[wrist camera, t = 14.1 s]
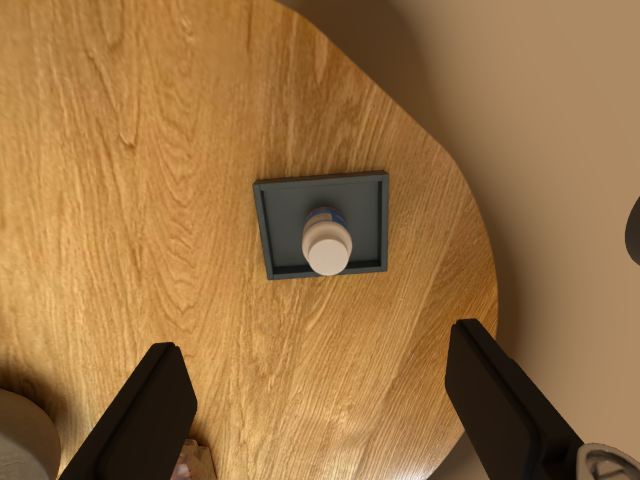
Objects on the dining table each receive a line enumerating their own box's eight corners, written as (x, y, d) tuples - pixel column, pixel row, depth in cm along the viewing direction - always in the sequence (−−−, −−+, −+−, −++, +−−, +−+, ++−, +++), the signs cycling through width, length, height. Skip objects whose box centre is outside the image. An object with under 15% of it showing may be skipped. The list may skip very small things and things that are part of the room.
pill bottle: (350, 238, 38) (362, 274, 29) (311, 250, 39) (311, 290, 30) (338, 199, 36) (347, 225, 27) (297, 212, 37) (293, 243, 28)
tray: (383, 170, 36) (389, 173, 33) (382, 262, 41) (387, 271, 38) (256, 179, 36) (252, 184, 33) (270, 271, 41) (267, 280, 38)
